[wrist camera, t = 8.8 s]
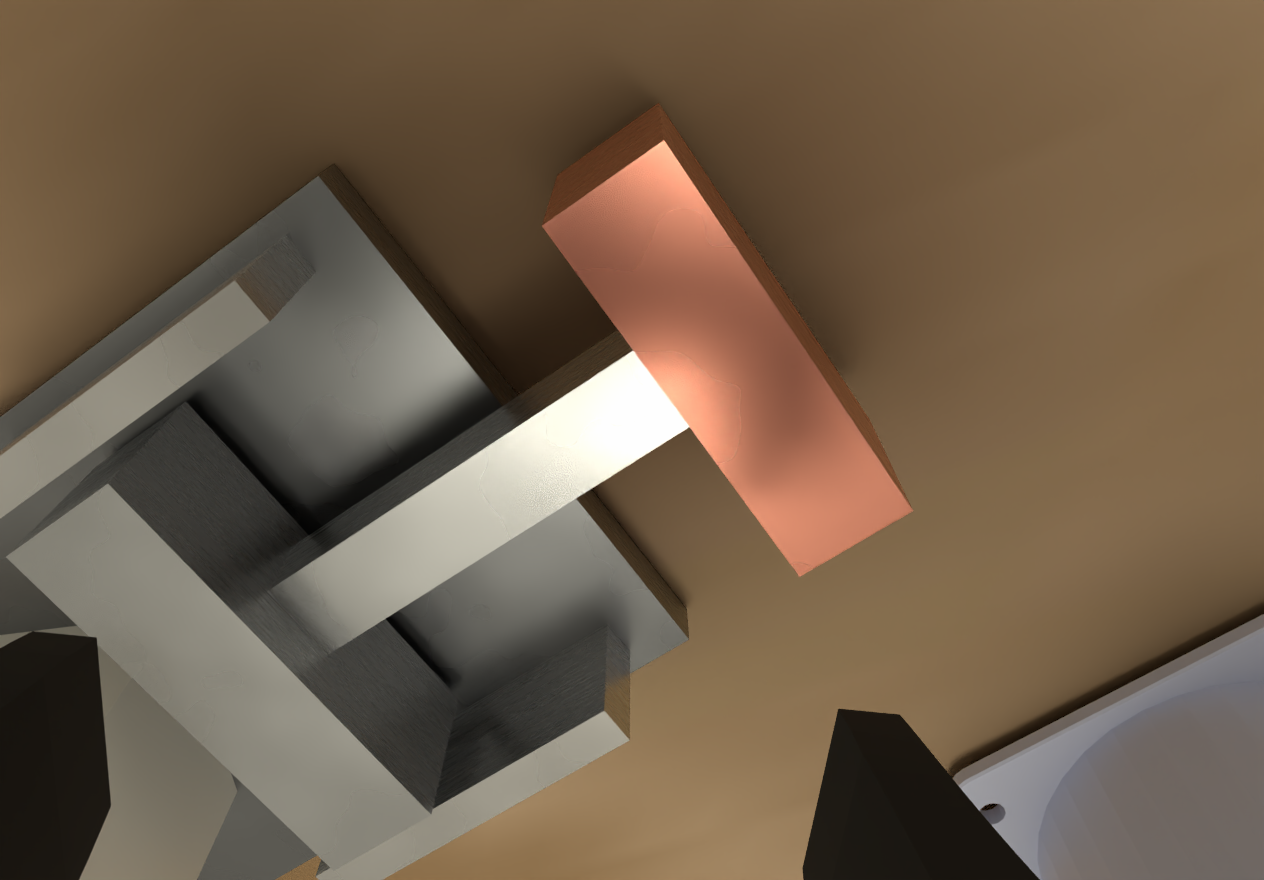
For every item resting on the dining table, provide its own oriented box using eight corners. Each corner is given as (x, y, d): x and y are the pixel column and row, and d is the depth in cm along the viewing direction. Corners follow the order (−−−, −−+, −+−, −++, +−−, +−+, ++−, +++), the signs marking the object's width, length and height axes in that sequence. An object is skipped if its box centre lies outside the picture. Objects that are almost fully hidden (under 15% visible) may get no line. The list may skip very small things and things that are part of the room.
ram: (885, 442, 19) (930, 537, 16) (372, 749, 21) (330, 880, 18) (639, 72, 16) (639, 104, 14) (96, 466, 19) (-3, 564, 16)
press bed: (686, 609, 22) (697, 748, 18) (76, 967, 25) (-18, 1143, 22) (334, 163, 18) (258, 221, 15) (-309, 650, 22) (-496, 795, 18)
